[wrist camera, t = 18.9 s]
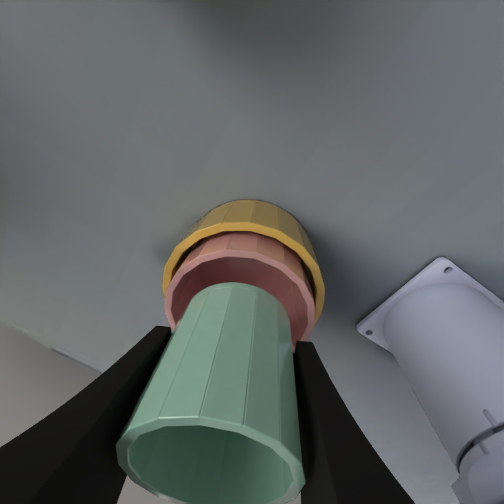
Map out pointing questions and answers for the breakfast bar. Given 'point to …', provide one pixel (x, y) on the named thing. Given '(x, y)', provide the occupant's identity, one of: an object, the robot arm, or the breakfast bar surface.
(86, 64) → the breakfast bar surface
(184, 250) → the stack bottom
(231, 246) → the stack top
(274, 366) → the mint cup
